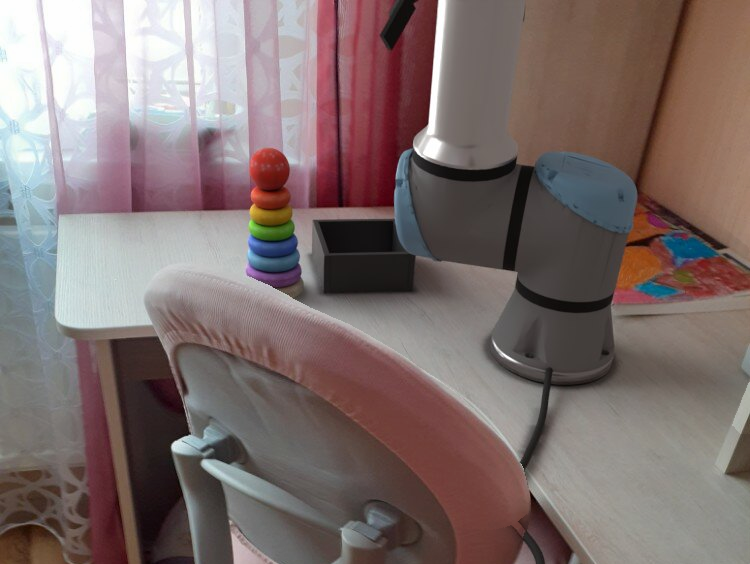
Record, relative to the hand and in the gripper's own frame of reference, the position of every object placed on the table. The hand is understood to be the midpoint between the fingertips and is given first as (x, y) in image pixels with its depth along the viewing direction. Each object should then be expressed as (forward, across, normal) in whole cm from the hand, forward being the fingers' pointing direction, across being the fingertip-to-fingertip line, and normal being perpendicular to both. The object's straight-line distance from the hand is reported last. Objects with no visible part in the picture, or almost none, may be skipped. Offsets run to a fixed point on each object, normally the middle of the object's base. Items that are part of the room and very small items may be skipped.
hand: (425, 53), depth 110 cm
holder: (+26, +1, -13) cm, 29 cm away
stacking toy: (+36, +5, -3) cm, 37 cm away
